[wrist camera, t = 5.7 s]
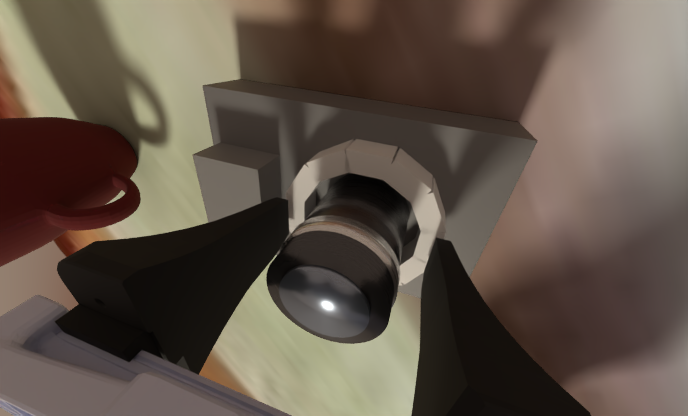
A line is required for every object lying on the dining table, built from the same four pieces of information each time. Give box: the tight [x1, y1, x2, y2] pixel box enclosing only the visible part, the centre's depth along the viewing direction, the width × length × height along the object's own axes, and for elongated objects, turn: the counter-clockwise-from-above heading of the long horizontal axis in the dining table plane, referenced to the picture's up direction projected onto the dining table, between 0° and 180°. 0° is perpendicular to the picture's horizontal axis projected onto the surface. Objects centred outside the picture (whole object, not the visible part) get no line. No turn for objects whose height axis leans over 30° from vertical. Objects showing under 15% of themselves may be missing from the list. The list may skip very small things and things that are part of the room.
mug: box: [0, 117, 141, 267], centre depth 18 cm, size 11×8×10 cm
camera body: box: [193, 79, 537, 298], centre depth 15 cm, size 10×15×5 cm, turn 85°
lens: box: [267, 173, 409, 344], centre depth 11 cm, size 5×5×6 cm
